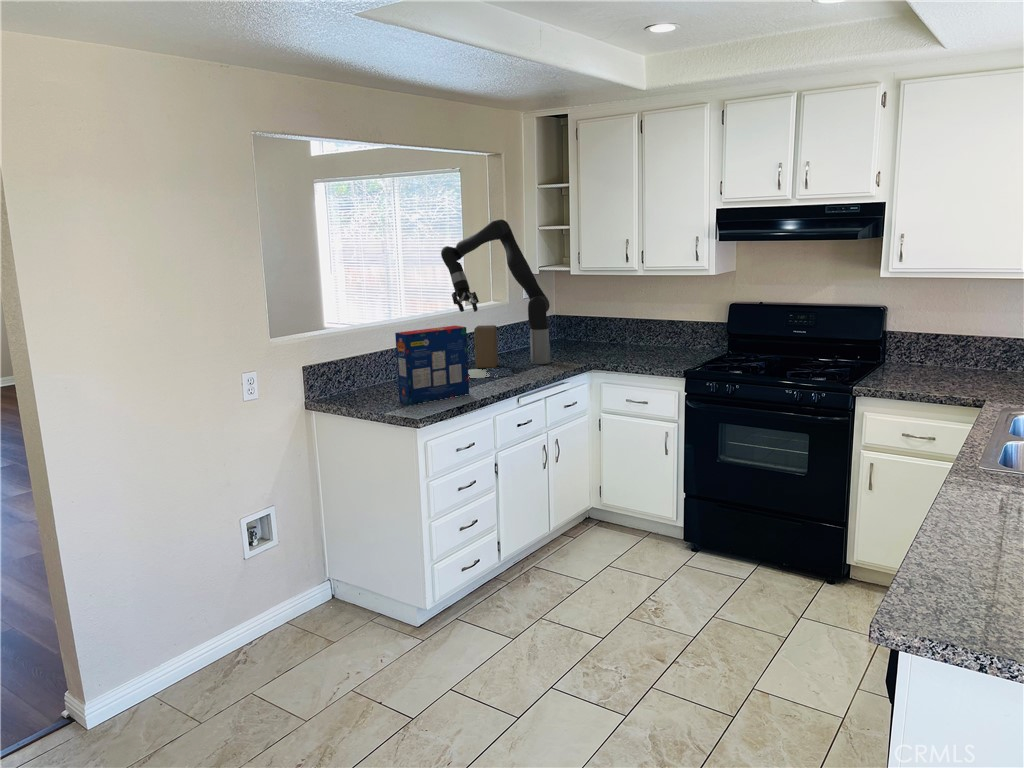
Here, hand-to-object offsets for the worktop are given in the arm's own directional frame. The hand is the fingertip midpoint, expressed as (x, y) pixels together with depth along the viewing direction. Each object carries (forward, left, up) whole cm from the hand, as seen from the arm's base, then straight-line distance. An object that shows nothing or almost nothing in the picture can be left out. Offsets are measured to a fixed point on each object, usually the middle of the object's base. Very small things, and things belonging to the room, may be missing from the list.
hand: (469, 311), depth 387 cm
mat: (-5, +33, -26) cm, 42 cm away
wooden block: (-6, +16, -26) cm, 31 cm away
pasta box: (+24, +80, -26) cm, 87 cm away
